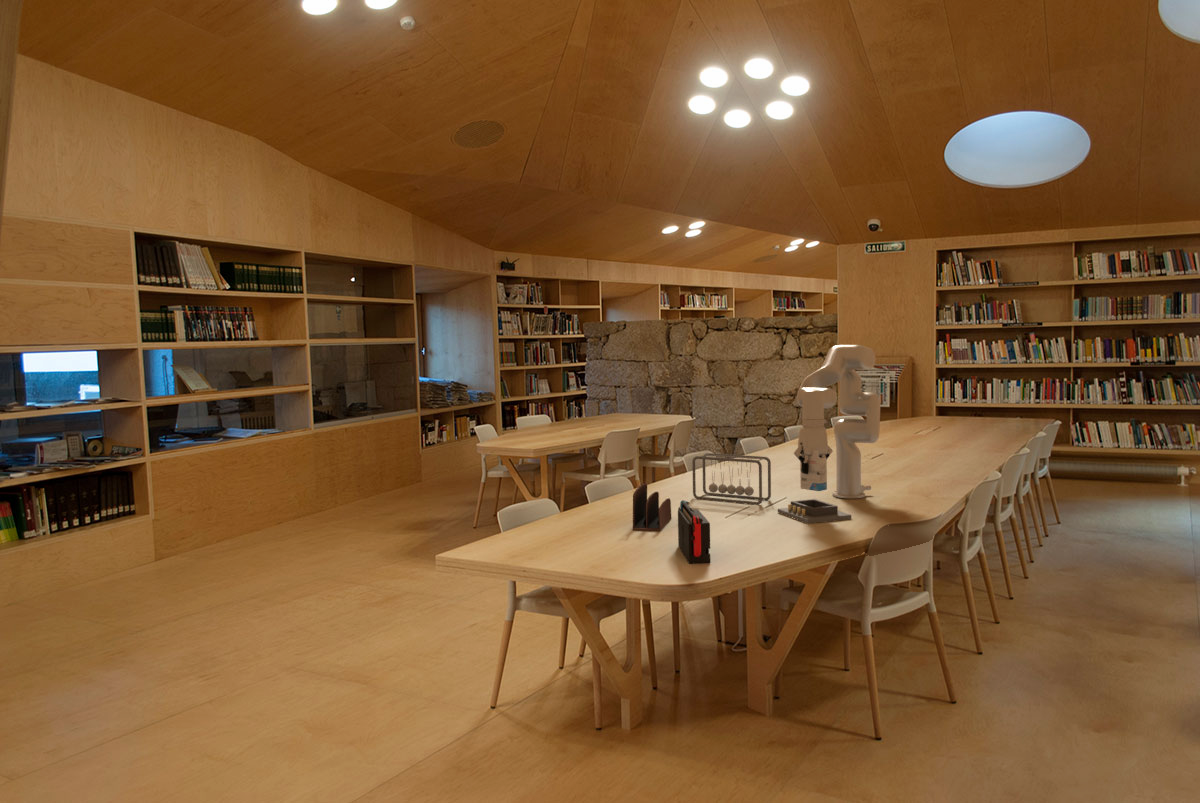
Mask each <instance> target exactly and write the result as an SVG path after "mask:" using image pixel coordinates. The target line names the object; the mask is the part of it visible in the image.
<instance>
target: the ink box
mask: <svg viewBox="0 0 1200 803" xmlns="http://www.w3.org/2000/svg"><path fill="white" fill-rule="evenodd" d="M800 455H801V456H802V454H800ZM827 460H828V459H827V458H821V457H819V451H816V450H813V455H809V458H808V460H807V463H808V474H804V473H802V462H800V461H799V462H800V463H799V464H800V465H799V466H800V474H799V476H800V478H799V479H800V489H801V490H807V491H815V492H822V491H827V489H828V484H827V482H828V481H827V480H828V478H827V477H828V476H827V475H828V471H827V470H828V469H827V466H828V461H827Z"/></svg>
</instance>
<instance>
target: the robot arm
mask: <svg viewBox="0 0 1200 803" xmlns="http://www.w3.org/2000/svg"><path fill="white" fill-rule="evenodd" d="M825 356H826V357H825V358H824V361H823V363H822V365H821V367H820V368H818V369H817V370H816V371H813V372H812V373H810V374H809V375H806V377H805V378H803V380H802V382H801V384H800V385H799V388H798V390H797V394H796V401H797V402H796V403H797V405H798V406H800V407H802V427H800V428H799V434H798V442H797V443H798V444H797V448H796V450H794V452H793V455H794V456H795V457H796V458H797V459H798V460H799V462H802V473H804V474H808V463H807V460H808V458H809V455H813V450H816V451H819V457H821V458H827V460H828V458H829V457H831V456H830V455H831V454H832V453H833V449H832V448H831V446H829V444H828V443H829V442H828V434H827V429H826V427H825V424H827V420H826V419H825V409H831V408H833V407H834V406H836V403H837V401H838V410H839V412H840V413H841V414H842V415H844V416H853V417H854V416H859V417H860V416H861V417H866V419H863V418H842V419H841V418H840V419H839V420H837V421H835V423H834V426H833V434H834V440H835V449H836V458H835V460H836V490H835V491H833V492H832V496H833V497H834V498H839V499H863V498H865V497H866V493H865V491H871V490H872V486H871V485H864V484H862V454H861V450H860V448H859V446H857V444H873V443H877V441H878V440H879V437H880V423H881V422H880V421H881V400H880V397H879V395H878V394H877V393H875V392H870V391H862V382H863V381H862V378H861V376H860V374H859V373H858V372H857V371H858V370H863V371H864V370H866V371H867V370H871V369H873V368H874V366H875V364H876V361H877V360H876V354H875V352H874V350H873V349H872V348H871V347H868V346H864V345H861V344H838V345H833V346H832V347H830V348H829V350H828V352H827V353H826V355H825ZM856 370H857V371H856ZM838 382H839V393H838V394H837V392H836V391H835V390H834V389H833V388H830V387H829V386H831V385H834V384H836V383H838ZM838 396H839V397H838ZM856 443H857V444H856ZM801 454H802V456H801Z"/></svg>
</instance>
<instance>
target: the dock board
mask: <svg viewBox="0 0 1200 803" xmlns="http://www.w3.org/2000/svg"><path fill="white" fill-rule="evenodd" d="M778 512H779V513H778ZM777 513H778V514H780V513H782V514H784V515H783V516H785V515H787V516H786V517H788V516H790V517H789V518H791V517H793V518H795V519H794V520H796V519H798V520H797V521H799V520H800V522H801V521H803V522H802V523H804V522H806V523H805V524H807V523H811V524H816V523H815V522H820V523H826V522H825V521H829V522H835V521H834V520H838V521H844V520H843V519H847V520H852V514H850V513H847V512H843V511H840V510H838V505H835V504H832V503H829V502H826V501H822V500H820V499H818V498H817V499H816V498H812V499H811V498H810V499H800V500H791V501H790V503H788V504H787V507H783V508H777ZM782 514H781V515H782ZM793 518H792V519H793Z"/></svg>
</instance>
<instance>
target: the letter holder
mask: <svg viewBox="0 0 1200 803" xmlns="http://www.w3.org/2000/svg"><path fill="white" fill-rule="evenodd" d="M659 498H660V493H659V491H654V492H652V493H651V494H650V495H649V497H648V484H647V483H642V484H640V485H639V486H638V487H637V488H636V489H635V491H633V494H632V531H640V532H642V531H643V532H661V531H662V530H663V529H664V528H665V527H666V526H667V525H668V524H669V522H670V521H671V520H672V507H671V506H672V501H671V498H665V500H664V501H663V502H662V503H661V504H660V499H659Z"/></svg>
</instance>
